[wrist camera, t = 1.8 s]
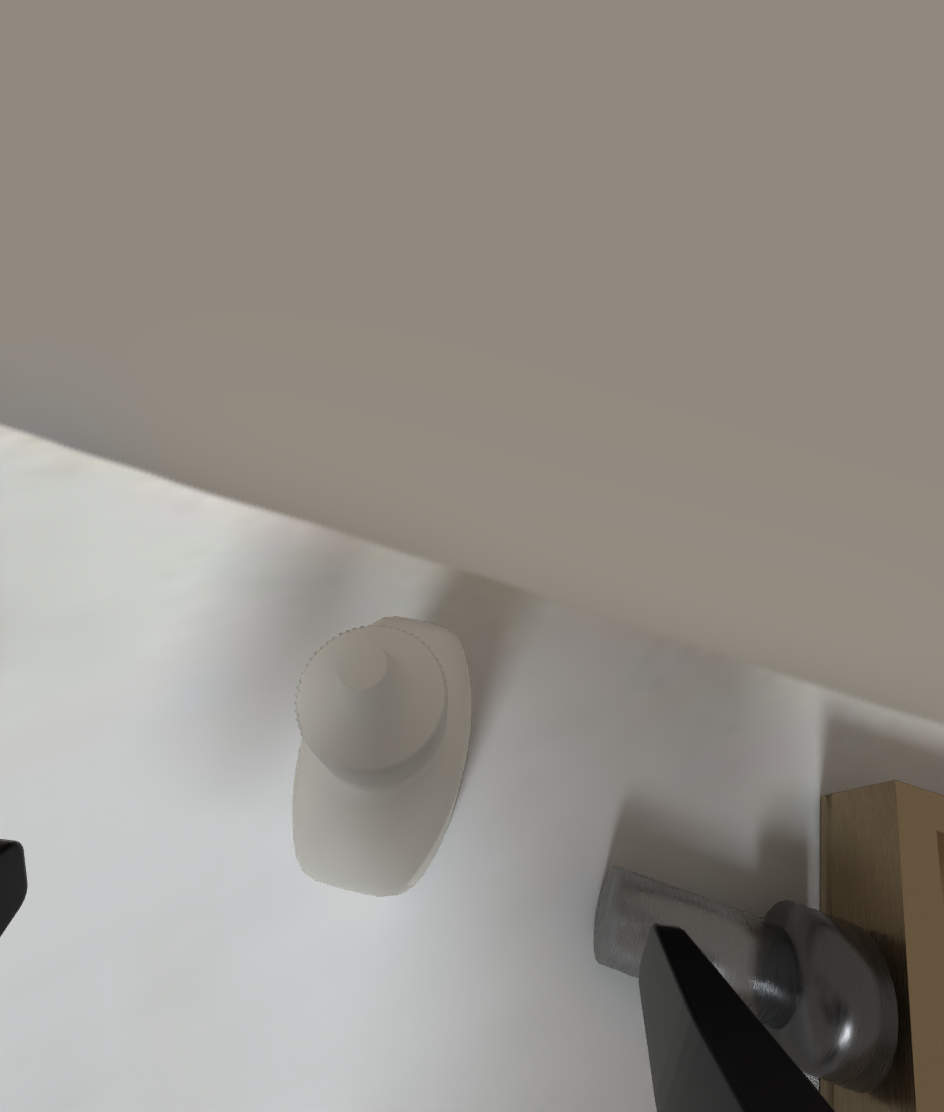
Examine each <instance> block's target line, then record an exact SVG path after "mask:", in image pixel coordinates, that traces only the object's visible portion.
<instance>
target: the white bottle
mask: <svg viewBox="0 0 944 1112" xmlns="http://www.w3.org/2000/svg"><path fill="white" fill-rule="evenodd" d="M310 661H311V662H310V663H308V664H307V665H306V668H307V669H306V670H304V671H303V672H302V674H303V676H302V677H301V678H300V679H299V681H300V682H301V683H300V684H299V685H298V686H297V689H298V690H299V691H298V692H297V693H296V695H295V696H296V697H297V700H296V702H295V705H296V706H297V708H296V710H295V712H296V714H297V717H296V720H297V721H298V723H299V724H298V728H299V729H300V730H301V736H302V741H301V745H300V749H299V754H298V759H297V765H296V771H295V779H294V789H293V838H294V846H295V853H296V857H297V860H298V862H299V864H300V867H301V869H302V871H303V872H304V873H306V874H307V875H308V876H310V877H311V878H313V879H314V880H315V881H318V882H321V883H325V884H328V885H331V886H335V887H338V888H342V889H346V890H350V891H354V892H358V893H362V894H367V895H372V896H377V897H384V896H393V895H399V894H402V893H404V892H407V891H408V890H409V889H411V888H412V887H413V886H415V885H416V884H417V882H418V881H419V880H420V878H421V877H422V876H423V874H424V873H425V871H426V870H427V868H428V867H429V865H430V863H431V861H432V860H433V858H434V856H435V854H436V852H437V850H438V848H439V846H440V844H441V842H442V840H443V837H444V835H445V833H446V830H447V827H448V824H449V822H450V818H451V815H452V812H453V809H454V805H455V801H456V798H457V794H458V791H459V787H460V783H461V779H462V775H463V771H464V767H465V763H466V758H467V753H468V747H469V740H470V731H471V717H472V696H471V683H470V676H469V669H468V664H467V659H466V655H465V652H464V649H463V646H462V643H461V642H460V640H459V639H458V637H457V636H456V634H454V633H453V632H451V631H449V630H448V629H446V628H445V627H441V626H438V625H435V624H431V623H427V622H423V621H419V620H414V619H409V618H403V617H397V616H394V617H384V618H382V619H380V620H378V621H376V622H374V623H373V624H372V625H369V626H367V627H364V626H361V627H360V628H359V629H358V628H354V629H353V630H352V631H350V630H347V631H346V632H345V633H340V634H339V636H338V637H333V639H332V641H328V642H327V643H326V645H325V646H322V647H321V648H320V651H317V652H315V656H314V657H312V658H310Z"/></svg>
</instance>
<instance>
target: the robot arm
mask: <svg viewBox="0 0 944 1112" xmlns="http://www.w3.org/2000/svg"><path fill="white" fill-rule="evenodd" d="M26 893H27V875H26V866H25V857H24V849H23V846H22V845H21V844H20V842H17V841H13V840H5V839H0V937H1V935H2V934H3V932H4V931H5V929H6V928H7V926H8V925H9V923H10V922H11V920H12V919H13V917H14V916H15V914H16V913H17V911H18V910H19V908H20V907H21V905H22V903H23V901H24V899H25V896H26ZM639 988H640V996H641V1003H642V1010H643V1017H644V1024H645V1031H646V1038H647V1045H648V1052H649V1059H650V1067H651V1074H652V1081H653V1088H654V1095H655V1102H656V1108H657V1112H836V1111H835V1110H834V1109H833V1108H832V1107H831V1105H830V1104H829V1103H828V1102H827V1101H826V1099H825V1098H824V1097H823V1096H822V1095H821V1093H820V1092H819V1091H818V1090H817V1089H816V1087H815V1086H814V1085H813V1084H812V1083H811V1081H810V1080H809V1079H808V1078H807V1077H806V1075H805V1074H804V1073H803V1072H802V1071H801V1069H800V1068H799V1067H798V1066H797V1065H796V1063H795V1062H794V1061H793V1060H792V1059H791V1057H790V1056H789V1055H788V1054H787V1053H786V1051H785V1050H784V1049H783V1048H782V1047H781V1045H780V1044H779V1043H778V1042H777V1041H776V1039H775V1038H774V1037H773V1036H772V1035H771V1033H770V1032H769V1031H768V1030H767V1029H766V1027H765V1026H764V1025H763V1024H762V1023H761V1021H760V1020H759V1019H758V1018H757V1016H756V1015H755V1014H754V1013H753V1012H752V1010H751V1009H750V1008H749V1007H748V1006H747V1004H746V1003H745V1002H744V1001H743V1000H742V998H741V997H740V996H739V995H738V994H737V992H736V991H735V990H734V989H733V988H732V986H731V985H730V984H729V983H728V982H727V980H726V979H725V978H724V977H723V976H722V974H721V973H720V972H719V971H718V970H717V968H716V967H715V966H714V965H713V964H712V962H711V961H710V960H709V959H708V958H707V956H706V955H705V954H704V953H703V952H702V950H701V949H700V948H699V947H698V946H697V944H696V943H695V942H694V941H693V940H692V938H691V937H690V936H689V935H688V934H687V932H686V931H685V930H683V929H682V928H681V927H679V926H675V925H667V924H659V923H655V924H653V925H651V927H650V929H649V931H648V935H647V939H646V943H645V947H644V950H643V954H642V958H641V962H640V966H639Z"/></svg>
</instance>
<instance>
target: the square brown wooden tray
mask: <svg viewBox="0 0 944 1112" xmlns="http://www.w3.org/2000/svg"><path fill="white" fill-rule="evenodd" d="M820 911H821V912H824V913H826V914H829V915H832V916H835V917H838V918H841V919H843V920H846V921H849V922H852V923H854V924H856V925H858V926H860V927H861V928H863V929H864V930H865V931H866V932H867V933H868V934H869V935H870V936H871V937H872V938H873V940H874V941H875V942H876V944H877V946H878V947H879V949H880V951H881V952H882V954H883V956H884V958H885V961H886V963H887V966H888V968H889V971H890V974H891V977H892V981H893V985H894V989H895V994H896V1000H897V1010H898V1038H897V1046H896V1052H895V1056H894V1059H893V1063H892V1065H891V1068H890V1070H889V1072H888V1074H887V1076H886V1078H885V1079H884V1080H883V1082H882V1083H881V1084H880V1085H879V1086H878V1087H877V1088H876V1089H874V1090H872V1091H870V1092H866V1093H856V1092H853V1091H851V1090H848V1089H846V1088H843V1087H840V1086H838V1085H835V1084H833V1083H830V1082H827V1081H825V1080H822V1079H820V1093H821V1095H822V1096H823V1097H824V1098H825V1099H826V1101H827V1102H828V1103H829V1104H830V1105H831V1107H832V1108H833V1109H834V1110H835V1111H836V1112H944V796H943V795H940V794H937V793H934V792H931V791H928V790H924V789H921V788H918V787H915V786H912V785H909V784H906V783H903V782H900V781H897V780H893V781H889V782H884V783H879V784H875V785H870V786H866V787H861V788H856V789H852V790H847V791H842V792H838V793H833V794H829V795H824V796H821V903H820Z"/></svg>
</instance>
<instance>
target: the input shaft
mask: <svg viewBox="0 0 944 1112" xmlns="http://www.w3.org/2000/svg"><path fill="white" fill-rule="evenodd" d="M655 923H659V924H667V925H675V926H679V927H681V928H682V929H683V930H685V931H686V932H687V934H688V935H689V936H690V937H691V938H692V940H693V941H694V942H695V943H696V944H697V946H698V947H699V948H700V949H701V950H702V952H703V953H704V954H705V955H706V956H707V958H708V959H709V960H710V961H711V962H712V964H713V965H714V966H715V967H716V968H717V970H718V971H719V972H720V973H721V974H722V976H723V977H724V978H725V979H726V980H727V982H728V983H729V984H730V985H731V986H732V988H733V989H734V990H735V991H736V992H737V994H738V995H739V996H740V997H741V998H742V1000H743V1001H744V1002H745V1003H746V1004H747V1006H748V1007H749V1008H750V1009H751V1010H752V1012H753V1013H754V1014H755V1015H756V1016H757V1018H758V1019H759V1020H760V1021H761V1023H762V1024H763V1025H764V1026H765V1027H766V1029H767V1030H768V1031H769V1032H770V1033H771V1035H772V1036H773V1037H774V1038H775V1039H776V1041H777V1042H778V1043H779V1044H780V1045H781V1047H782V1048H783V1049H784V1050H785V1051H786V1053H787V1054H788V1055H789V1056H790V1057H791V1059H792V1060H793V1061H794V1062H795V1063H796V1065H797V1066H798V1067H799V1068H800V1069H801V1071H802V1072H804V1073H807V1074H809V1075H812V1076H814V1077H817V1078H820V1079H822V1080H825V1081H827V1082H830V1083H833V1084H835V1085H838V1086H840V1087H843V1088H846V1089H848V1090H851V1091H853V1092H856V1093H866V1092H870V1091H872V1090H874V1089H876V1088H877V1087H878V1086H879V1085H880V1084H881V1083H882V1082H883V1080H884V1079H885V1078H886V1076H887V1074H888V1072H889V1070H890V1068H891V1065H892V1063H893V1059H894V1056H895V1052H896V1046H897V1038H898V1010H897V1000H896V994H895V989H894V985H893V981H892V977H891V974H890V971H889V968H888V966H887V963H886V961H885V958H884V956H883V954H882V952H881V951H880V949H879V947H878V946H877V944H876V942H875V941H874V940H873V938H872V937H871V936H870V935H869V934H868V933H867V932H866V931H865V930H864V929H863V928H861V927H860V926H858V925H856V924H854V923H852V922H849V921H846V920H843V919H841V918H838V917H835V916H832V915H829V914H826V913H824V912H821V911H818V910H815V909H812V908H810V907H807V906H804V905H801V904H798V903H795V902H793V901H788V900H787V901H781V902H778V903H777V904H775V905H774V906H773V907H772V908H771V909H770V910H769V911H768V913H767V914H766V916H765V917H764V919H762V918H759V917H756V916H753V915H751V914H748V913H745V912H742V911H739V910H737V909H734V908H731V907H728V906H726V905H723V904H720V903H717V902H714V901H712V900H709V899H706V898H703V897H701V896H698V895H695V894H692V893H689V892H687V891H684V890H681V889H678V888H676V887H673V886H670V885H667V884H664V883H662V882H659V881H656V880H653V879H651V878H648V877H645V876H642V875H639V874H637V873H634V872H631V871H628V870H626V869H623V868H620V867H617V866H614V867H612V868H611V870H610V871H609V873H608V874H607V876H606V879H605V881H604V884H603V887H602V890H601V893H600V897H599V901H598V906H597V911H596V918H595V926H594V953H595V958H596V960H597V962H598V963H600V964H602V965H605V966H607V967H610V968H613V969H615V970H618V971H621V972H623V973H626V974H628V975H631V976H634V977H636V978H639V966H640V962H641V958H642V954H643V950H644V947H645V943H646V939H647V935H648V931H649V929H650V927H651V925H653V924H655Z"/></svg>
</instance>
